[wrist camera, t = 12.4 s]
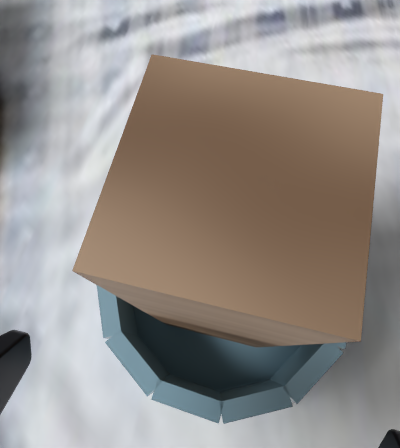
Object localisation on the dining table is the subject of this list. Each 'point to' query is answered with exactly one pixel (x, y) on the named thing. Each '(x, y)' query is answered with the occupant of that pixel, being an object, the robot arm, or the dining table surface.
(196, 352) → the bowl
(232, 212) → the walnut block
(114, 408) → the dining table surface
